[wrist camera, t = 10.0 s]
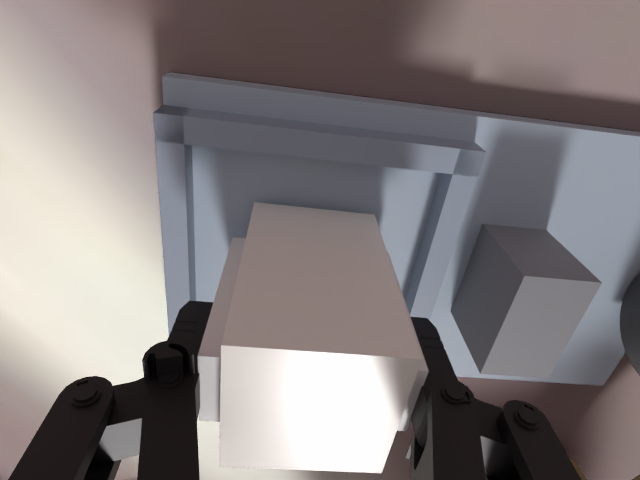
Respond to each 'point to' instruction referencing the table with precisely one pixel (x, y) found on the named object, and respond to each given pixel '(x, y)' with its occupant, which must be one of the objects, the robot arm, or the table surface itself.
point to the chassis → (420, 212)
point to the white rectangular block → (314, 345)
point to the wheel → (631, 323)
